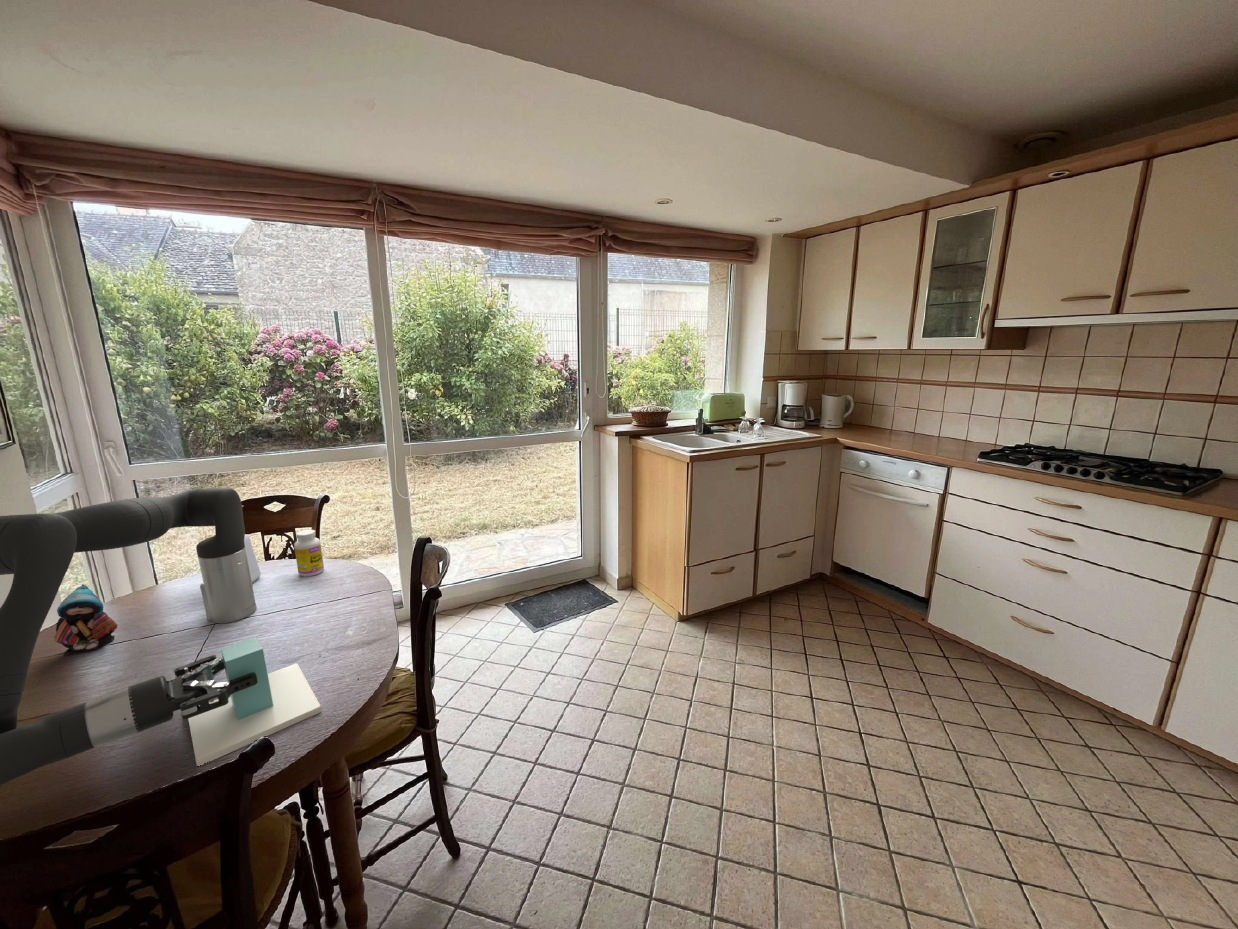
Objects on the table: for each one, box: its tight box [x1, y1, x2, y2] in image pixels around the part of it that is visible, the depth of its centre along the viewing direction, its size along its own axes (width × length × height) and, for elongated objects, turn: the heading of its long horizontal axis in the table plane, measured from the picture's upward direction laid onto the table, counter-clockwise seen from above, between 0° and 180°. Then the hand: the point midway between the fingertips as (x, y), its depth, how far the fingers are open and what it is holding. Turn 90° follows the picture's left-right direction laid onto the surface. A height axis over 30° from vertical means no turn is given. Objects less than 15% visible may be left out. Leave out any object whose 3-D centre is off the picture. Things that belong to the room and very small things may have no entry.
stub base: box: [187, 662, 323, 767], centre depth 92 cm, size 18×18×6 cm
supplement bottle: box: [293, 529, 325, 577], centre depth 148 cm, size 7×7×13 cm
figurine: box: [53, 583, 118, 656], centre depth 110 cm, size 10×7×15 cm
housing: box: [220, 636, 273, 720], centre depth 91 cm, size 5×5×12 cm
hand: (252, 666), depth 91 cm, fingers open, 8 cm apart
